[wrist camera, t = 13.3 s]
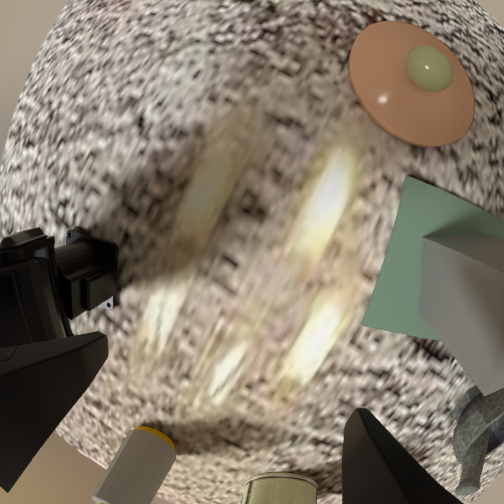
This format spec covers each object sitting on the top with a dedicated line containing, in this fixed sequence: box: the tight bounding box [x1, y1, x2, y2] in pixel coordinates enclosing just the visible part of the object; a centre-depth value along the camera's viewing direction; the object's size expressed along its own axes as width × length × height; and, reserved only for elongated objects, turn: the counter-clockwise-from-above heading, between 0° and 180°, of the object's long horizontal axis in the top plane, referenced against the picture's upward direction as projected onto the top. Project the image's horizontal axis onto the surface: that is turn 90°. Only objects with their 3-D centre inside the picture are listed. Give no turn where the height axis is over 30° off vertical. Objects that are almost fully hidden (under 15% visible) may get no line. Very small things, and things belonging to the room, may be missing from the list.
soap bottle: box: [92, 426, 176, 504], centre depth 19 cm, size 7×7×18 cm
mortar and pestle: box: [452, 385, 504, 495], centre depth 15 cm, size 11×9×12 cm
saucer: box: [348, 21, 475, 148], centre depth 13 cm, size 11×11×5 cm
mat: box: [361, 176, 504, 341], centre depth 18 cm, size 13×12×1 cm
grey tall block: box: [418, 232, 504, 396], centre depth 13 cm, size 6×6×11 cm
